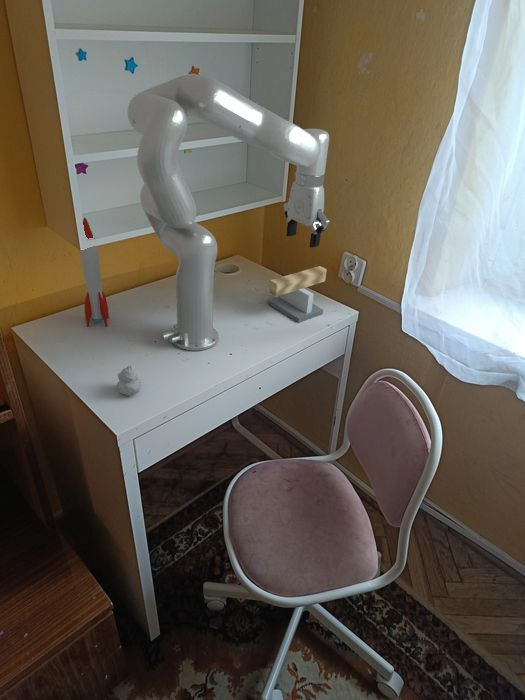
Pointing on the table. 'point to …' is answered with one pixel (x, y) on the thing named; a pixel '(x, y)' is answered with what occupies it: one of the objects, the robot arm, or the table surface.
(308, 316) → the fulcrum
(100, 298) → the toy rocket
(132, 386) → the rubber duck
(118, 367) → the table surface
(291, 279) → the rod
